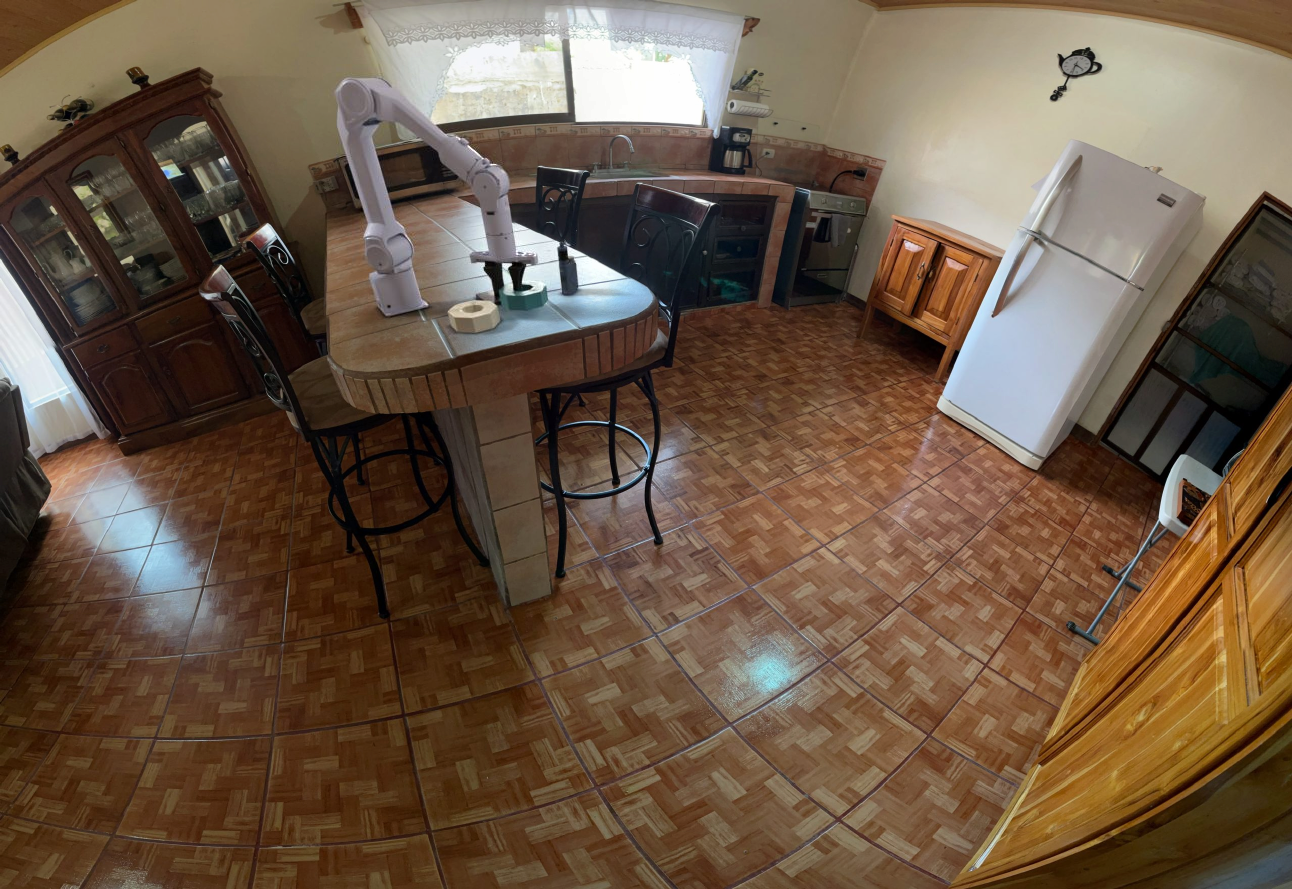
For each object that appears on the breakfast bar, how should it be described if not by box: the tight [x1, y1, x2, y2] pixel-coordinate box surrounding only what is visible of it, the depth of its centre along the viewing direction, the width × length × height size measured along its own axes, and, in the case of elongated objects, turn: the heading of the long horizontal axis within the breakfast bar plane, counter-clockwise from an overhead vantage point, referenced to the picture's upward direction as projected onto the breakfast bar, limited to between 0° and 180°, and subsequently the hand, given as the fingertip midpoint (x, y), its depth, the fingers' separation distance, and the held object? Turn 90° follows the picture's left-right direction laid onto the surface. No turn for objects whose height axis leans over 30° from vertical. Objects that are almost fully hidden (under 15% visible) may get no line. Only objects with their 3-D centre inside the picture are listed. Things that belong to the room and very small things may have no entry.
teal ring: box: [499, 279, 549, 312], centre depth 113 cm, size 10×10×3 cm
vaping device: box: [556, 241, 579, 296], centre depth 121 cm, size 3×5×12 cm, turn 152°
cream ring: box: [447, 299, 501, 334], centre depth 109 cm, size 10×10×3 cm
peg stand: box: [475, 280, 503, 307], centre depth 120 cm, size 8×8×6 cm
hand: (510, 295), depth 113 cm, fingers closed on teal ring, 3 cm apart
